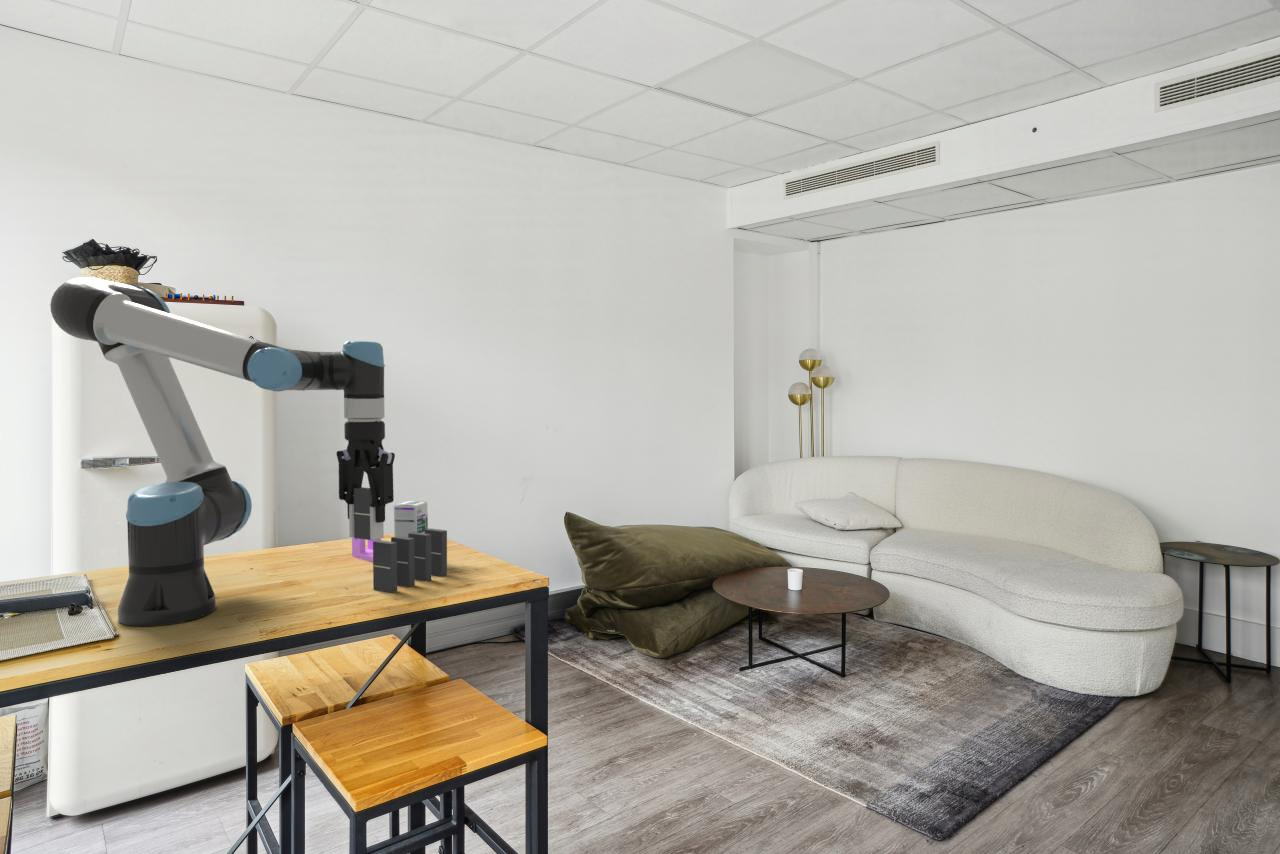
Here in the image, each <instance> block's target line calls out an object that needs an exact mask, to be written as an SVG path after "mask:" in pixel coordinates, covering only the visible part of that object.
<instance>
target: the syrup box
mask: <svg viewBox="0 0 1280 854" xmlns="http://www.w3.org/2000/svg"><path fill="white" fill-rule="evenodd" d="M428 517H429V516H428V501H427V502H426V501H419V500H413V501H408V500H407V501H405V502H401V503H397V504H394V505H393V524H394V525H393V528H394V529H393V530H394V531H393V532H394V533H393V535H394V537H395V536H400V537H408V533H412V532H417V533H425V529H429V528H428V527H429V521H428Z"/></svg>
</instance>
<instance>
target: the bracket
mask: <svg viewBox="0 0 1280 854" xmlns="http://www.w3.org/2000/svg"><path fill="white" fill-rule="evenodd" d="M377 540H382V538H380V539H377ZM377 540H367V548H366V539H358V538H354V537H351V556H352V557H353V558H356V559H361V560H363V561H366V560H367V561H366V562H371V563H373V541H377Z"/></svg>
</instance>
